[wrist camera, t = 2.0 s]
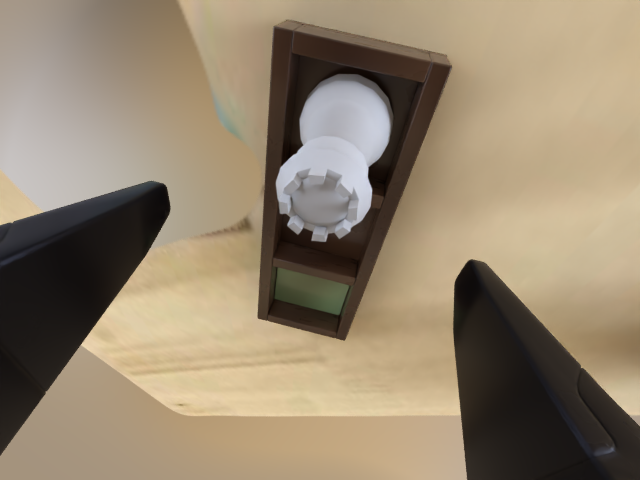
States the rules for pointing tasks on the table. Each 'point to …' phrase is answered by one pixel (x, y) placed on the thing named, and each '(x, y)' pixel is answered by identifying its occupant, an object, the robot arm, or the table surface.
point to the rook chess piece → (335, 156)
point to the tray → (384, 175)
